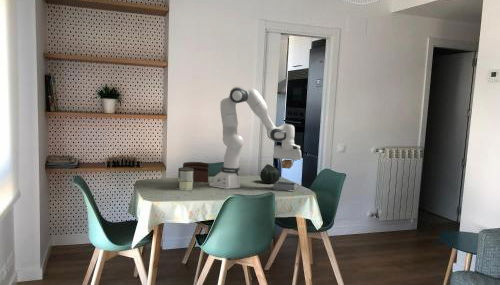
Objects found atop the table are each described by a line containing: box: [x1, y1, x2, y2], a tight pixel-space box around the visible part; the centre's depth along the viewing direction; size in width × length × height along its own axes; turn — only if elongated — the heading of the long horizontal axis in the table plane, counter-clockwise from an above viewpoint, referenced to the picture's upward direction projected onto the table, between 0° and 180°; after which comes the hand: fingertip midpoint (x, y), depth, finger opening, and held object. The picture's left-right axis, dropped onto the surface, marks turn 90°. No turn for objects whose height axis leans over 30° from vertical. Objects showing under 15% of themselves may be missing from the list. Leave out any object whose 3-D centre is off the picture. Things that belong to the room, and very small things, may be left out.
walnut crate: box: [281, 159, 293, 170], centre depth 295 cm, size 6×9×5 cm, turn 164°
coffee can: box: [177, 166, 194, 191], centre depth 279 cm, size 10×10×14 cm
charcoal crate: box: [272, 180, 298, 191], centre depth 297 cm, size 15×13×4 cm
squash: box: [259, 163, 280, 184], centre depth 317 cm, size 14×15×15 cm
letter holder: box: [182, 161, 210, 184], centre depth 308 cm, size 10×20×14 cm, turn 95°
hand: (286, 165), depth 295 cm, fingers closed on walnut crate, 5 cm apart
